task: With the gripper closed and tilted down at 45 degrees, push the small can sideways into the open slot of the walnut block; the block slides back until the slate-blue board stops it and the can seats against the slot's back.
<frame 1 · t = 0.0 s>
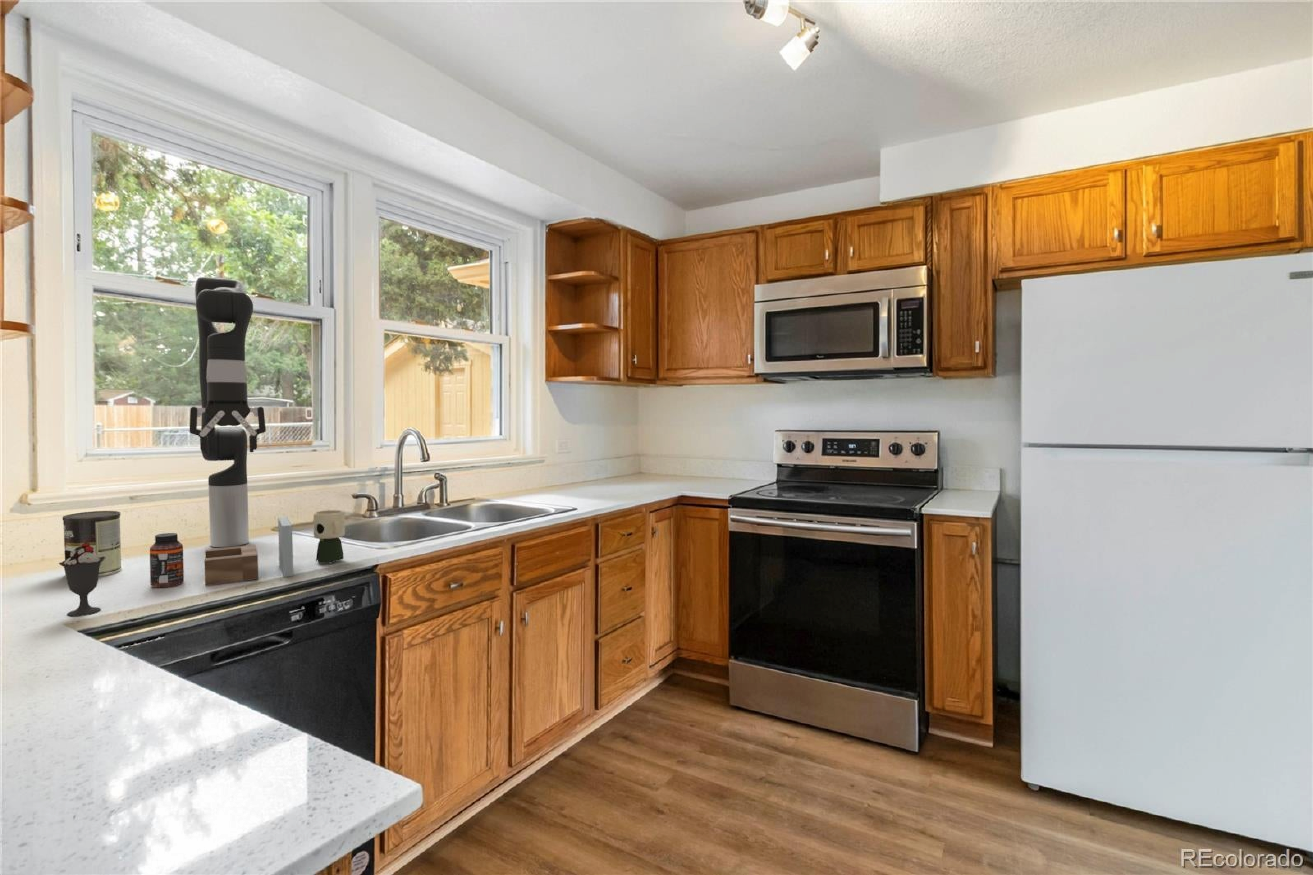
hand: (229, 452, 146), 29 cm above the countertop, tool pointing down, fingers open, 8 cm apart
walnut block: (231, 563, 151), point 3 cm above the countertop, slide at 0.0 cm
coffee can: (94, 574, 153), on the countertop
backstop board: (286, 570, 157), on the countertop
supplement bottle: (167, 585, 144), on the countertop
sundae: (84, 613, 125), on the countertop
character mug: (330, 563, 165), on the countertop
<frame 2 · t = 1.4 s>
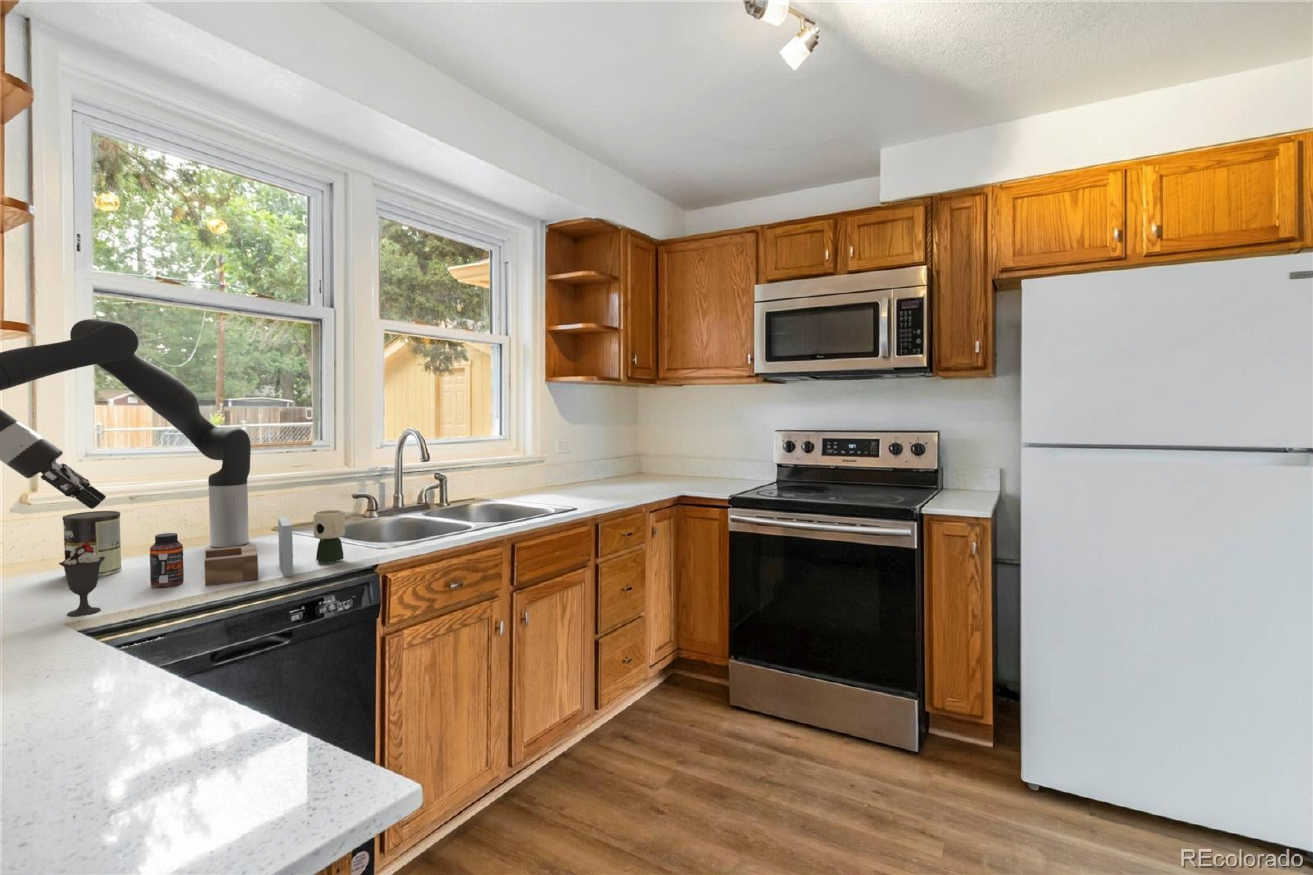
hand: (99, 503, 137), 19 cm above the countertop, tool tilted 45°, fingers open, 8 cm apart
nothing on the countertop moved.
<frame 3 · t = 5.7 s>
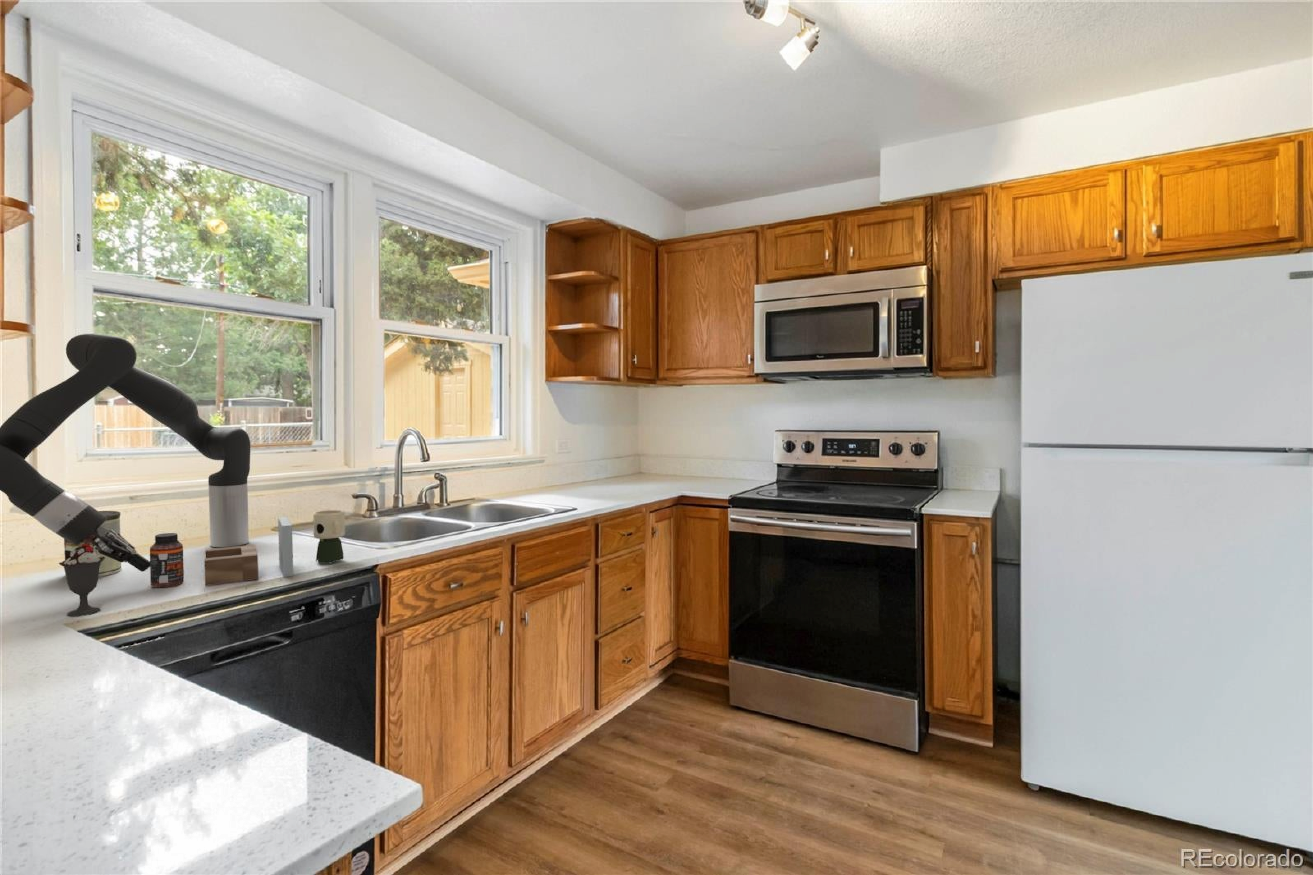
hand: (147, 567, 142), 4 cm above the countertop, tool tilted 45°, fingers closed
supplement bottle: (167, 585, 144), on the countertop, touching gripper
everything else where it was.
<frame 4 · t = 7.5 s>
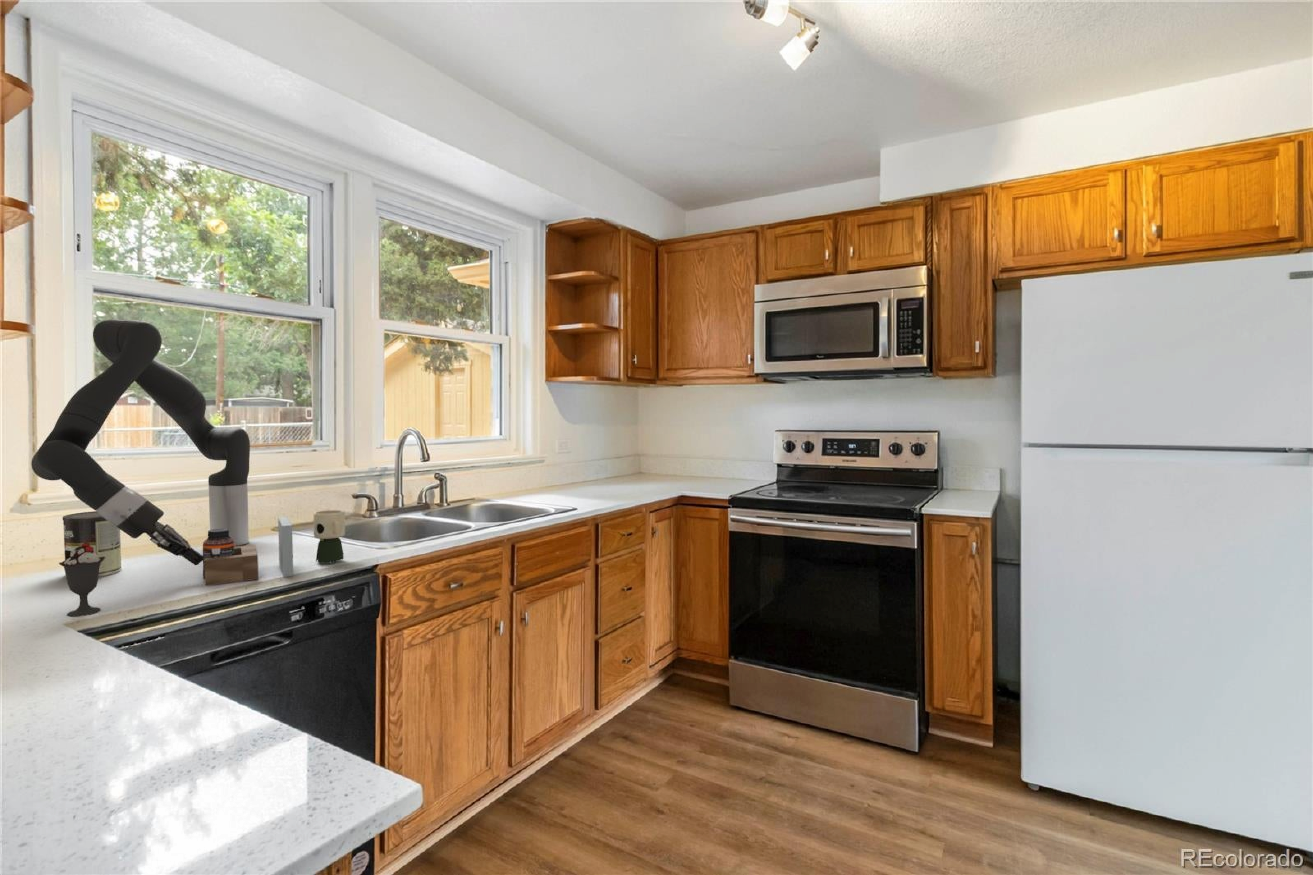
hand: (200, 561, 147), 4 cm above the countertop, tool tilted 45°, fingers closed
supplement bottle: (218, 579, 149), on the countertop, touching gripper
everything else where it was.
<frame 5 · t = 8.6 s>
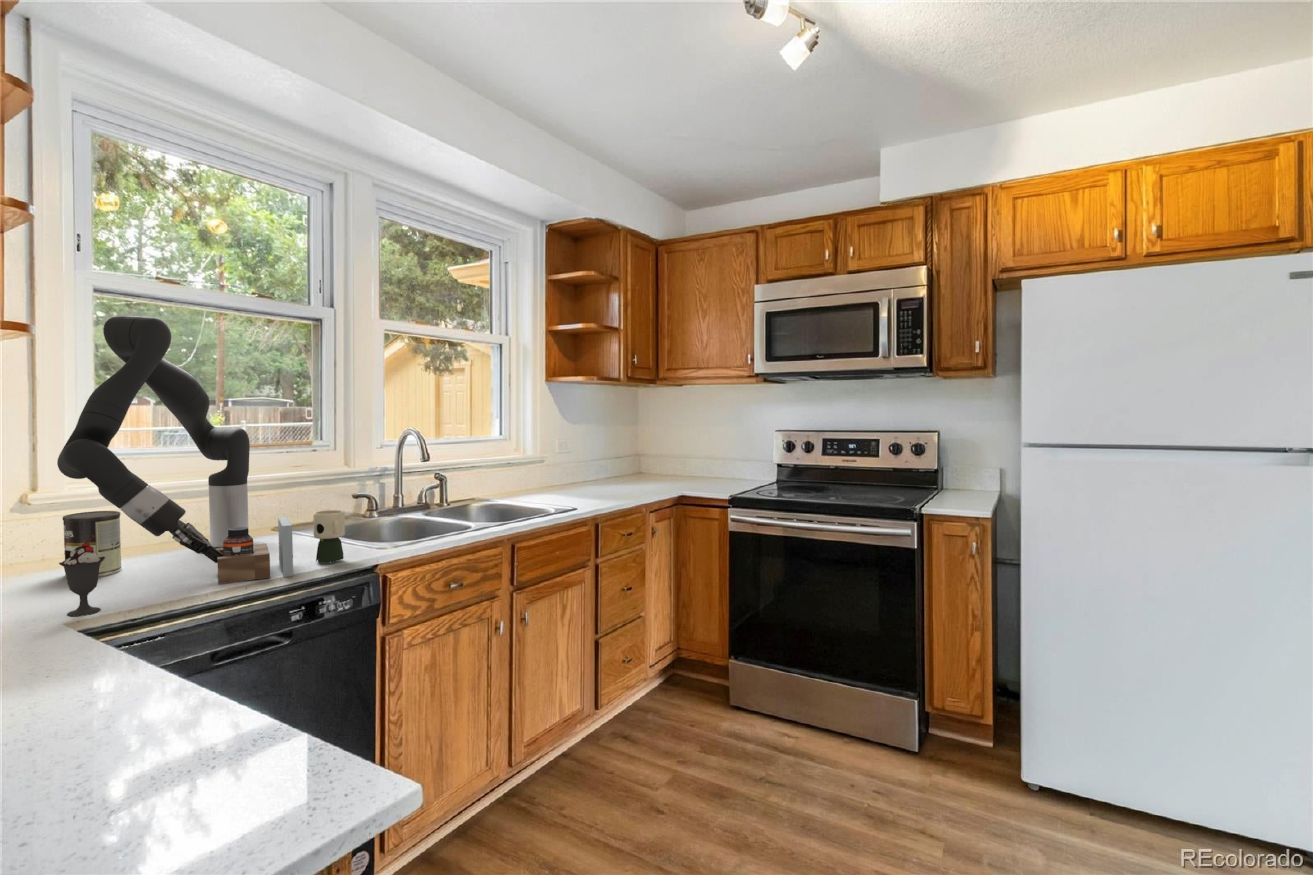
hand: (220, 559, 149), 4 cm above the countertop, tool tilted 45°, fingers closed
walnut block: (243, 562, 152), point 3 cm above the countertop, slide at 2.4 cm, touching supplement bottle
supplement bottle: (238, 577, 151), on the countertop, touching gripper, walnut block
everything else where it was.
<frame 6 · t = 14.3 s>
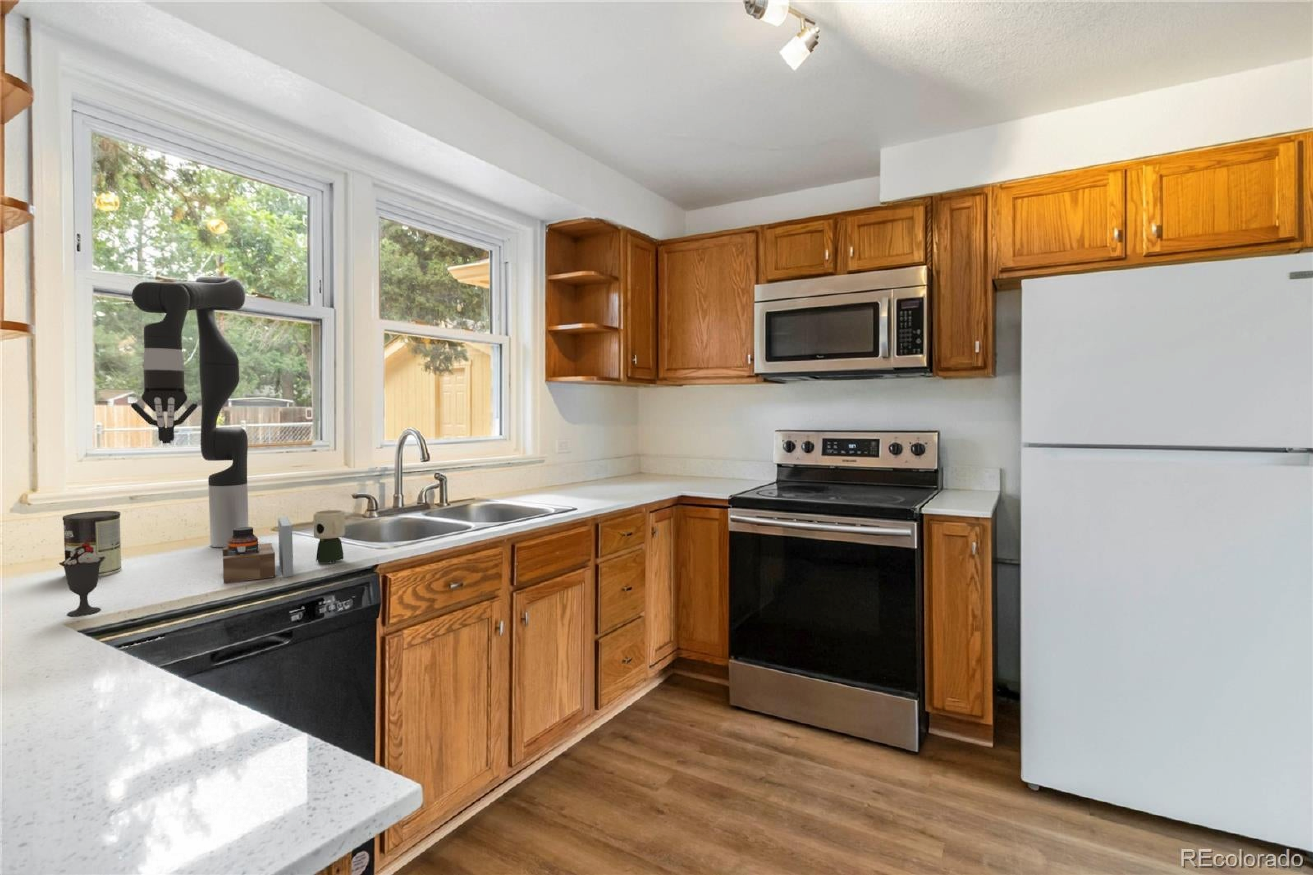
hand: (166, 443, 152), 31 cm above the countertop, tool pointing down, fingers closed
walnut block: (248, 562, 153), point 3 cm above the countertop, slide at 3.4 cm
supplement bottle: (244, 576, 152), on the countertop
everything else where it was.
at the end: supplement bottle 0.5 cm from the target spot on the walnut block, point 0.0 cm above the walnut block's base; walnut block slide at 3.4 cm; supplement bottle tilted 0° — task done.
